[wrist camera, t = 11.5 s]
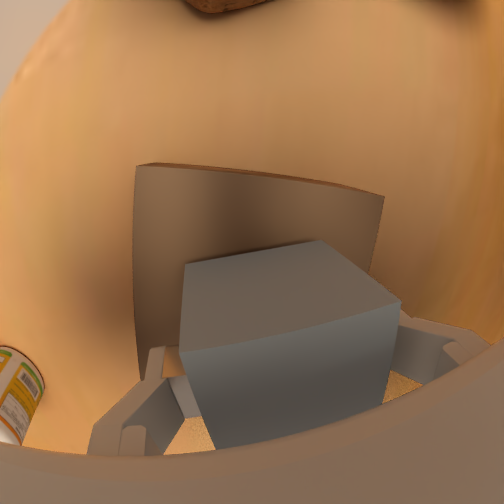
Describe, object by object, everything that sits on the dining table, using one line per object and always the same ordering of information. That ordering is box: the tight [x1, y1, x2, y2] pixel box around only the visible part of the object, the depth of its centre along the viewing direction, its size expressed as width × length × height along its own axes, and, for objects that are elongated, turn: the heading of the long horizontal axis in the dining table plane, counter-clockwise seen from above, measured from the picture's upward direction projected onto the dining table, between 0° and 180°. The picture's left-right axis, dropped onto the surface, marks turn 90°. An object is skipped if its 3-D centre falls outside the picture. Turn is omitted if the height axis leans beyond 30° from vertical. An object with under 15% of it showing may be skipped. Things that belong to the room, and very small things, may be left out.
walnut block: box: [133, 163, 385, 381], centre depth 14 cm, size 10×10×5 cm
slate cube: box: [179, 240, 402, 450], centre depth 9 cm, size 5×5×5 cm
